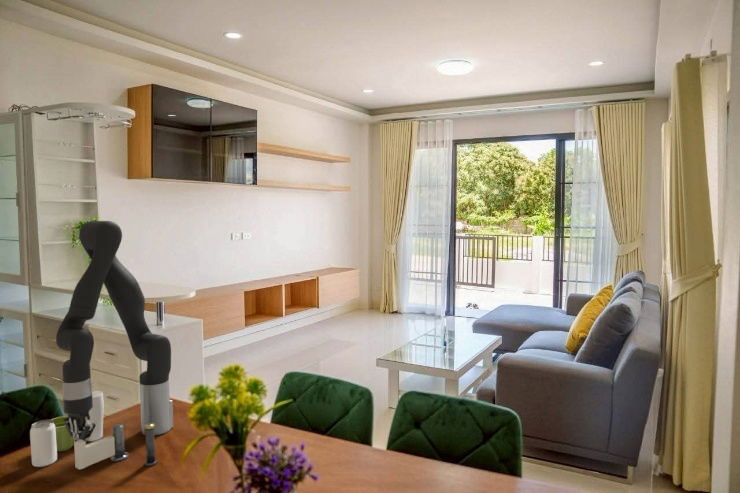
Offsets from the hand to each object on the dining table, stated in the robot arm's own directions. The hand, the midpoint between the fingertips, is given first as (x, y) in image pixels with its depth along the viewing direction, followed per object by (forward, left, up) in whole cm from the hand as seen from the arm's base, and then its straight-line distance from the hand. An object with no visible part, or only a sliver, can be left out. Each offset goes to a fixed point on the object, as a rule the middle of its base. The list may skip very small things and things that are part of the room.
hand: (80, 451), depth 154 cm
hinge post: (-9, +6, -4) cm, 11 cm away
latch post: (-11, +17, -4) cm, 21 cm away
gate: (-1, +6, -2) cm, 6 cm away
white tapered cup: (-12, -14, -4) cm, 19 cm away
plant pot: (-3, -16, -4) cm, 17 cm away
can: (+5, -11, -4) cm, 13 cm away
